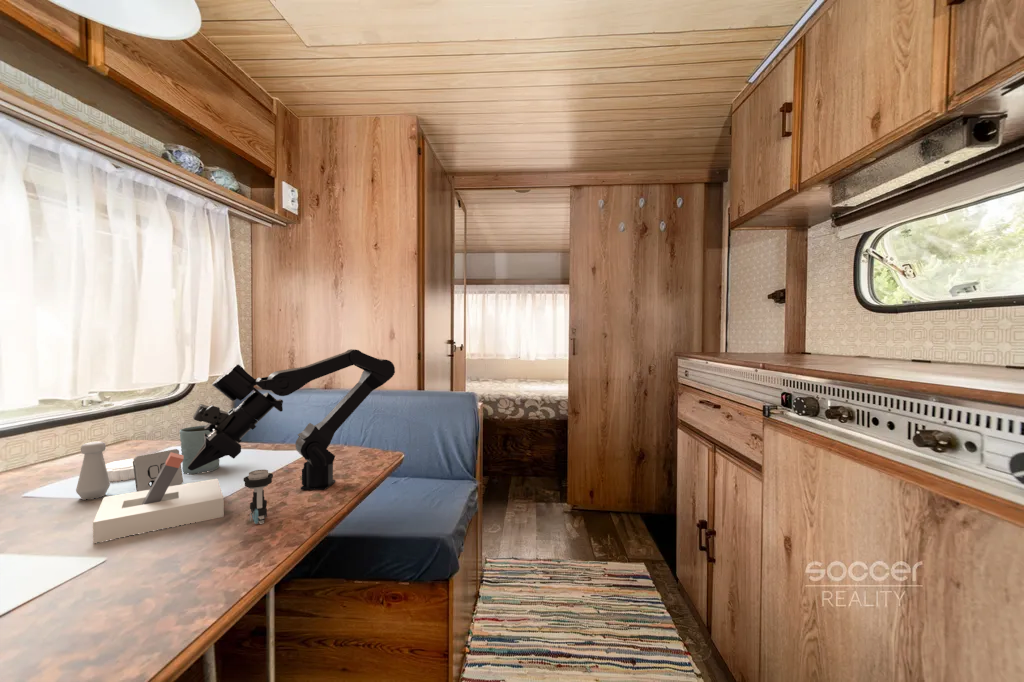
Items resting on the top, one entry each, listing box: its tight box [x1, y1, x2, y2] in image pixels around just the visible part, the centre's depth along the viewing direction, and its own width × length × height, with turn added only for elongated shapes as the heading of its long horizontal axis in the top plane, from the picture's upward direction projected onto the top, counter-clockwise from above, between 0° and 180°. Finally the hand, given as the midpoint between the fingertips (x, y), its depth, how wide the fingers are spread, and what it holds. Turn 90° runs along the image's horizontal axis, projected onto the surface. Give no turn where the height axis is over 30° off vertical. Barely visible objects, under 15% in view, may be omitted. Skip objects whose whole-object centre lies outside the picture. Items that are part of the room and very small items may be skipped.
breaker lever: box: [142, 452, 184, 505], centre depth 91 cm, size 2×4×11 cm, turn 38°
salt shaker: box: [75, 440, 111, 501], centre depth 102 cm, size 6×6×13 cm
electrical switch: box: [132, 448, 184, 492], centre depth 109 cm, size 9×5×9 cm, turn 152°
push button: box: [243, 469, 274, 525], centre depth 89 cm, size 7×5×10 cm
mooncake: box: [105, 458, 135, 482], centre depth 119 cm, size 12×12×4 cm
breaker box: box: [92, 478, 225, 545], centre depth 91 cm, size 20×16×4 cm
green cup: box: [179, 424, 221, 475], centre depth 124 cm, size 10×10×12 cm
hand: (189, 469), depth 94 cm, fingers closed
